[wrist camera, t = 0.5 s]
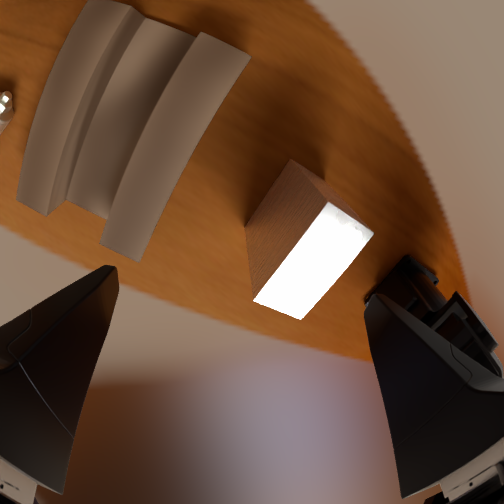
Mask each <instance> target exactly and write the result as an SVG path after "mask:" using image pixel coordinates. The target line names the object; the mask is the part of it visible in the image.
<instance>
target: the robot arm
mask: <svg viewBox="0 0 504 504" xmlns="http://www.w3.org/2000/svg"><path fill="white" fill-rule="evenodd" d="M407 260H408V261H407ZM438 282H439V279H438V278H437V277H436V276H435V275H434V274H432V273H431V272H430V271H429V270H428V269H426V268H425V267H424V266H423V265H422V264H420V263H419V262H418V261H417V260H415V259H414V258H413V257H412V256H410V255H406V256H404V257H403V259H402V260H401V261H400V262H399V263H398V265H397V266H396V267H395V268H394V269H393V270H392V272H391V273H390V274H389V275H388V276H387V277H386V279H385V280H384V281H383V282H382V283H381V284H380V285H379V286H378V288H377V289H376V290H375V291H374V292H373V293H372V294H371V295H370V296H369V297H368V299H367V300H366V301H365V303H364V304H365V306H366V309H365V311H364V320H365V325H366V330H367V336H368V341H369V347H370V351H371V355H372V359H373V363H374V366H375V370H376V374H377V378H378V381H379V385H380V389H381V393H382V397H383V402H384V406H385V410H386V415H387V419H388V424H389V428H390V433H391V438H392V443H393V448H394V454H395V460H396V466H397V472H398V478H399V485H400V491H401V497H402V499H403V498H406V497H409V496H411V495H414V494H416V493H419V492H421V491H424V490H426V489H428V488H430V487H433V486H435V485H437V484H439V483H440V485H441V488H442V492H440V493H438V494H436V495H434V496H432V497H429V498H427V499H426V500H425V502H424V504H504V377H503V366H502V364H501V362H500V361H499V359H498V357H497V356H496V354H495V353H494V352H493V351H494V350H495V348H497V346H498V343H497V341H496V340H495V338H494V337H493V335H492V334H491V332H490V331H489V329H488V328H487V326H486V325H485V323H484V322H483V321H482V319H481V318H480V317H479V316H478V314H477V313H476V312H475V311H474V309H473V308H472V307H471V306H470V305H469V304H468V303H467V301H466V300H465V299H464V298H463V297H462V296H461V295H460V294H459V293H458V292H457V291H455V293H454V294H453V295H452V297H451V298H450V300H449V301H447V300H446V298H445V297H444V296H443V295H442V293H441V292H440V291H439V290H438V288H437V287H436V285H437V284H438ZM118 292H119V281H118V273H117V268H116V267H115V266H110V265H104V266H102V267H100V268H98V269H96V270H95V271H93V272H91V273H89V274H88V275H86V276H84V277H83V278H81V279H79V280H77V281H75V282H74V283H72V284H70V285H69V286H67V287H65V288H64V289H62V290H60V291H58V292H57V293H55V294H53V295H52V296H50V297H48V298H47V299H45V300H44V301H42V302H40V303H39V304H37V305H35V306H34V307H32V308H31V309H29V310H27V311H26V312H24V313H23V314H21V315H19V316H18V317H16V318H14V319H13V320H12V321H9V322H8V323H6V324H4V325H2V326H1V327H0V504H38V502H37V500H36V498H35V497H34V496H35V491H36V486H37V484H39V485H41V486H43V487H45V488H48V489H50V490H52V491H54V492H57V493H59V494H61V495H62V494H63V490H64V484H65V479H66V473H67V468H68V463H69V459H70V454H71V450H72V446H73V441H74V439H73V438H74V436H75V432H76V429H77V425H78V421H79V418H80V414H81V410H82V407H83V403H84V400H85V397H86V394H87V390H88V387H89V384H90V381H91V378H92V375H93V372H94V369H95V366H96V363H97V360H98V357H99V355H100V352H101V349H102V346H103V343H104V341H105V338H106V336H107V333H108V329H109V326H110V322H111V319H112V315H113V311H114V307H115V304H116V300H117V297H118Z"/></svg>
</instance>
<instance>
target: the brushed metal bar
mask: <svg viewBox="0 0 504 504" xmlns="http://www.w3.org/2000/svg"><path fill="white" fill-rule="evenodd" d="M373 235H374V233H373V231H372V230H371V229H370V228H369V227H368V226H367V225H366V224H365V222H364V221H363V220H362V219H361V218H360V217H359V216H358V215H357V214H356V213H355V212H354V210H353V209H352V208H351V207H350V206H349V205H348V204H347V203H346V202H345V201H344V200H343V199H342V198H341V197H340V196H339V195H338V194H337V193H336V192H335V191H334V190H333V189H332V188H331V187H330V186H329V185H328V184H327V183H326V182H325V181H324V180H323V179H321V178H320V177H318V176H317V175H315V174H314V173H312V172H311V171H309V170H308V169H306V168H305V167H303V166H302V165H300V164H298V163H297V162H295V161H294V160H292V159H291V158H290V160H289V161H288V163H287V164H286V166H285V167H284V169H283V170H282V172H281V173H280V175H279V176H278V178H277V179H276V181H275V182H274V184H273V185H272V187H271V188H270V190H269V191H268V193H267V194H266V196H265V197H264V199H263V200H262V202H261V203H260V205H259V206H258V208H257V209H256V211H255V212H254V214H253V215H252V217H251V218H250V220H249V222H248V223H247V225H246V226H245V236H246V244H247V252H248V260H249V268H250V276H251V284H252V292H253V300H254V301H256V302H258V303H261V304H263V305H266V306H268V307H271V308H273V309H276V310H278V311H281V312H283V313H286V314H288V315H291V316H294V317H296V318H299V319H302V317H303V316H304V315H305V314H306V313H307V312H308V311H309V310H310V309H311V308H312V307H313V305H314V304H315V303H316V302H317V301H318V300H319V299H320V298H321V297H322V295H323V294H324V293H325V292H326V291H327V290H328V289H329V287H330V286H331V285H332V284H333V283H334V282H335V281H336V279H337V278H338V277H339V276H340V275H341V274H342V272H343V271H344V270H345V269H346V268H347V266H348V265H349V264H350V263H351V262H352V260H353V259H354V258H355V257H356V256H357V254H358V253H359V252H360V251H361V249H362V248H363V247H364V246H365V245H366V243H367V242H368V241H369V240H370V238H371V237H372V236H373Z"/></svg>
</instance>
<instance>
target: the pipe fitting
mask: <svg viewBox="0 0 504 504" xmlns="http://www.w3.org/2000/svg"><path fill="white" fill-rule="evenodd" d="M13 115H14V110H13V108H12V94H11V93H10V92H9V91H5V92H4V93H3V92H0V135H1V133H2V132H3V130H4V129H5V128H6V126H7V125H8V123H9V122H10V121H11V119H12V118H13Z"/></svg>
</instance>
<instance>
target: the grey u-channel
mask: <svg viewBox="0 0 504 504" xmlns="http://www.w3.org/2000/svg"><path fill="white" fill-rule="evenodd" d="M251 57H252V56H250V55H248V54H246V53H244V52H243V51H241V50H239V49H237V48H235V47H233V46H231V45H229V44H227V43H225V42H223V41H221V40H219V39H216V38H214V37H212V36H210V35H208V34H206V33H203V32H200V34H199V35H198V36H197V37H194V36H192V35H190V34H187V33H185V32H183V31H180V30H178V29H175V28H173V27H170V26H167V25H165V24H162V23H159V22H157V21H154V20H151V19H148V18H145V17H144V16H143V15H142V14H141V13H139V12H138V11H137V10H136V9H135V8H133V7H132V6H130V5H126V4H123V3H119V2H115V1H111V0H88V1H87V3H86V4H85V6H84V8H83V9H82V11H81V13H80V14H79V16H78V18H77V20H76V21H75V23H74V25H73V27H72V29H71V30H70V32H69V34H68V36H67V38H66V40H65V42H64V44H63V46H62V48H61V50H60V52H59V54H58V56H57V59H56V61H55V63H54V65H53V68H52V70H51V72H50V75H49V77H48V80H47V82H46V85H45V88H44V90H43V93H42V96H41V98H40V101H39V104H38V107H37V110H36V113H35V117H34V120H33V123H32V127H31V130H30V134H29V137H28V141H27V145H26V149H25V154H24V158H23V163H22V168H21V173H20V178H19V184H18V190H17V197H16V200H17V201H19V202H21V203H23V204H24V205H26V206H28V207H30V208H32V209H33V210H35V211H37V212H39V213H41V214H43V215H44V216H46V217H47V216H48V215H49V214H50V213H51V212H52V211H53V210H54V209H56V208H57V207H58V206H59V205H60V204H61V203H63V202H64V201H65V200H68V201H70V202H72V203H74V204H76V205H78V206H80V207H82V208H84V209H86V210H88V211H90V212H92V213H94V214H96V215H98V216H100V217H102V218H104V219H106V220H107V221H106V224H105V227H104V230H103V233H102V237H101V240H100V243H99V244H101V245H103V246H105V247H107V248H109V249H111V250H113V251H115V252H117V253H119V254H121V255H124V256H126V257H128V258H130V259H132V260H134V261H136V262H140V260H141V258H142V256H143V253H144V251H145V249H146V247H147V244H148V242H149V240H150V238H151V236H152V233H153V231H154V229H155V227H156V225H157V222H158V220H159V218H160V216H161V214H162V212H163V210H164V208H165V206H166V204H167V201H168V199H169V197H170V195H171V193H172V191H173V189H174V187H175V185H176V184H177V182H178V180H179V178H180V176H181V174H182V172H183V170H184V168H185V166H186V164H187V163H188V161H189V159H190V157H191V155H192V153H193V151H194V150H195V148H196V146H197V144H198V143H199V141H200V139H201V137H202V135H203V134H204V132H205V130H206V129H207V127H208V125H209V123H210V122H211V120H212V118H213V117H214V115H215V113H216V112H217V110H218V108H219V107H220V105H221V104H222V102H223V100H224V99H225V97H226V96H227V94H228V92H229V91H230V89H231V88H232V86H233V85H234V83H235V82H236V80H237V79H238V77H239V76H240V74H241V73H242V71H243V70H244V68H245V67H246V65H247V64H248V62H249V61H250V59H251Z"/></svg>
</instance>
